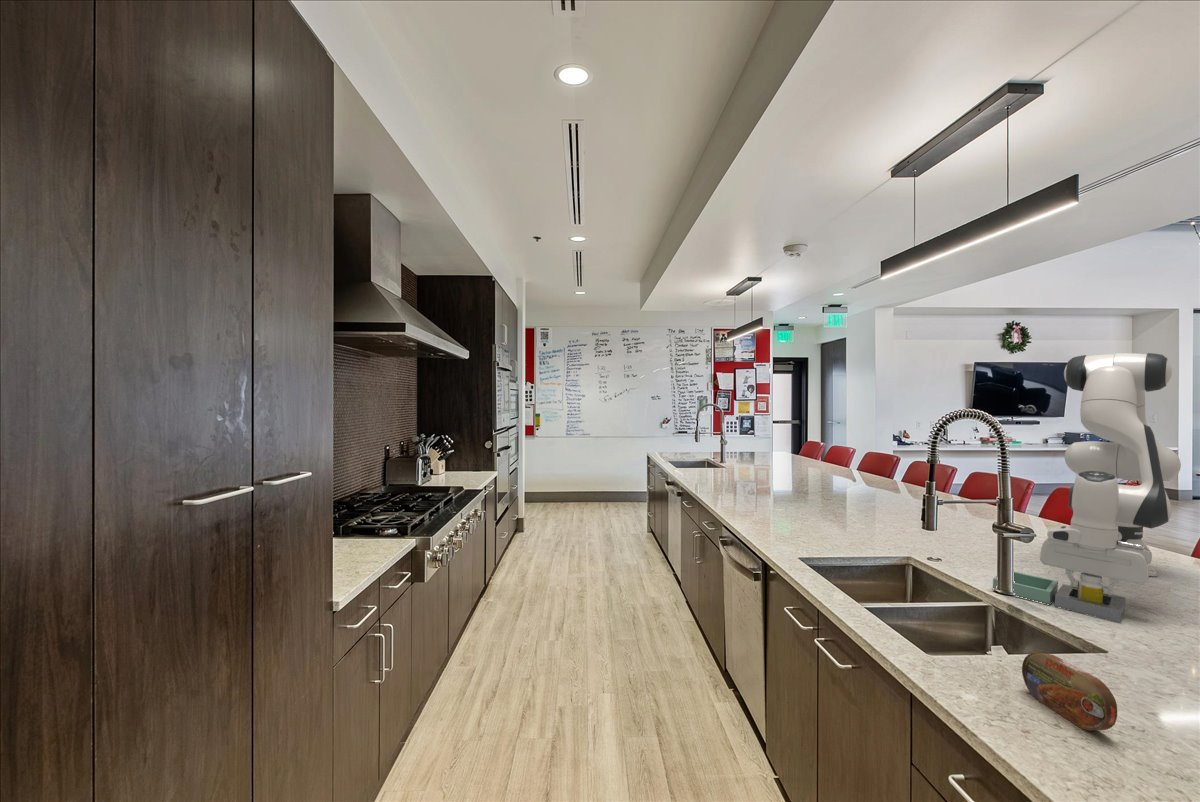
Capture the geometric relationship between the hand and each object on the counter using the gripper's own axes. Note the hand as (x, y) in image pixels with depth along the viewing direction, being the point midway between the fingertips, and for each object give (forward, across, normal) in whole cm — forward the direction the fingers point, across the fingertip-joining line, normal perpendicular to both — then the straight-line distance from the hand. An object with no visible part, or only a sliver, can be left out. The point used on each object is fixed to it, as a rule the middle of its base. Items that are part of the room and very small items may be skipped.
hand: (1090, 591), depth 137 cm
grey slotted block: (+4, 0, 0) cm, 4 cm away
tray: (+4, +13, 0) cm, 14 cm away
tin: (+4, -3, +63) cm, 63 cm away
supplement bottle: (+4, 0, 0) cm, 5 cm away
